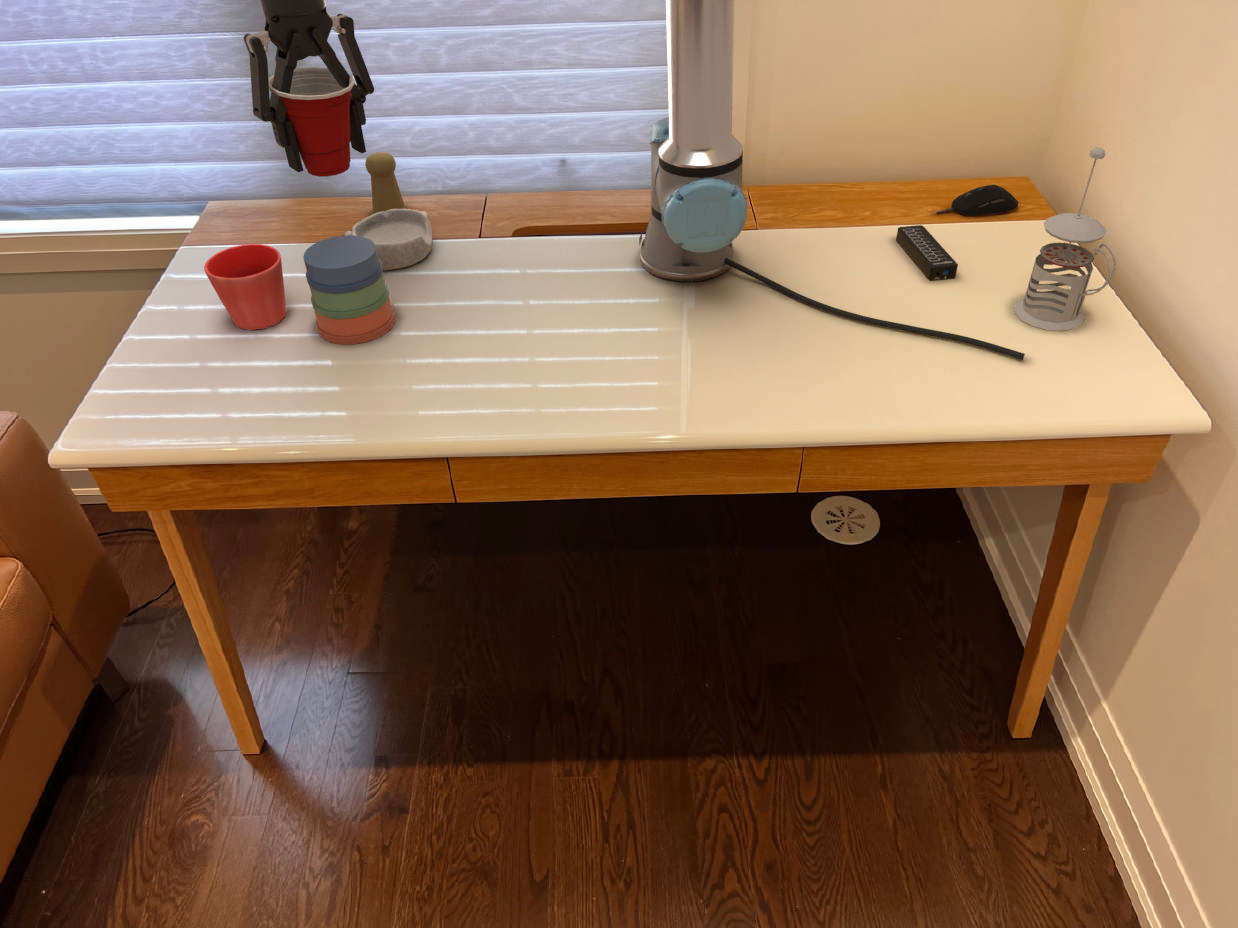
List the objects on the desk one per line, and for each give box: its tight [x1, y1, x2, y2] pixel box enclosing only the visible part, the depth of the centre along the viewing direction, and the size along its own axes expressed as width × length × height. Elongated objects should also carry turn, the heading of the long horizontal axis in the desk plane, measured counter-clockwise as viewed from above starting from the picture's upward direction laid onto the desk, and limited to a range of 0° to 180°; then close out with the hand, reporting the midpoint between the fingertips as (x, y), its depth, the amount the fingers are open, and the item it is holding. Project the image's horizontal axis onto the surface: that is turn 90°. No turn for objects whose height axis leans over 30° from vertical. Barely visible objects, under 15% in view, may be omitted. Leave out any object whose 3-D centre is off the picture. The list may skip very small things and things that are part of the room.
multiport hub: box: [895, 224, 959, 282], centre depth 154 cm, size 4×14×2 cm, turn 9°
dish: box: [344, 208, 433, 271], centre depth 159 cm, size 14×14×5 cm
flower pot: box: [203, 243, 287, 331], centre depth 142 cm, size 11×11×10 cm
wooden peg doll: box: [364, 151, 407, 215], centre depth 169 cm, size 6×6×11 cm
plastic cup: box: [268, 66, 356, 178], centre depth 125 cm, size 11×11×12 cm
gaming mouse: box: [936, 184, 1019, 217], centre depth 166 cm, size 6×15×4 cm, turn 101°
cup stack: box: [303, 235, 397, 345], centre depth 139 cm, size 12×12×12 cm
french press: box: [1013, 146, 1117, 332], centre depth 132 cm, size 10×12×25 cm
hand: (328, 159), depth 128 cm, fingers closed on plastic cup, 9 cm apart
